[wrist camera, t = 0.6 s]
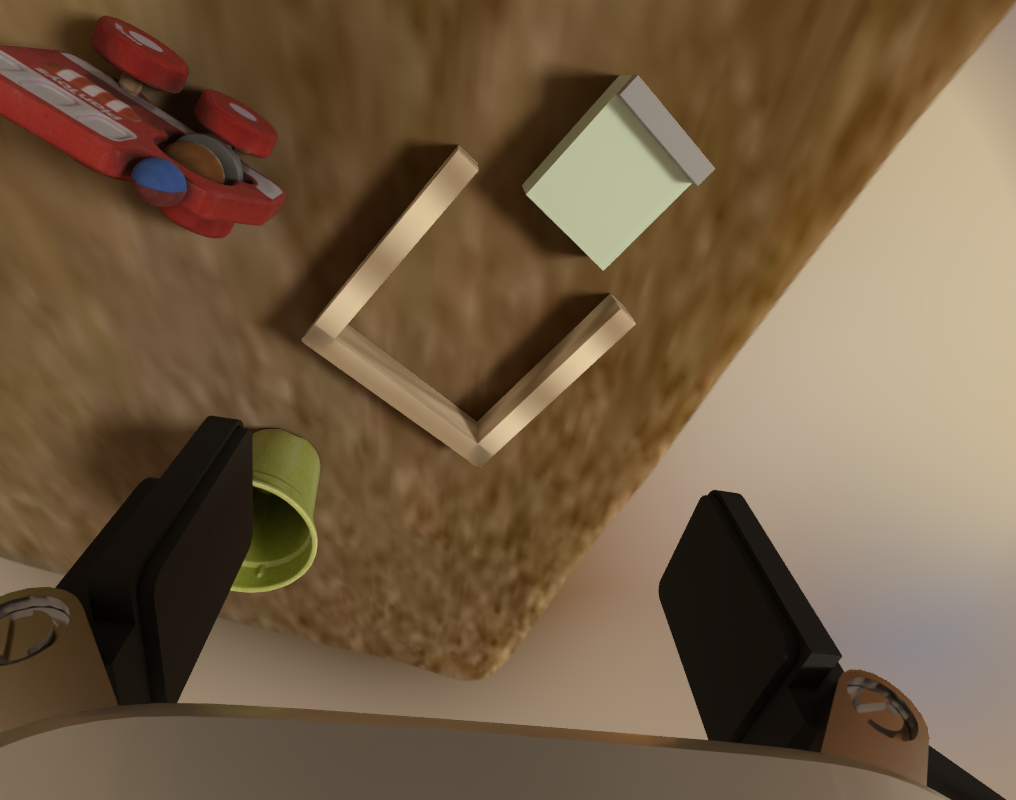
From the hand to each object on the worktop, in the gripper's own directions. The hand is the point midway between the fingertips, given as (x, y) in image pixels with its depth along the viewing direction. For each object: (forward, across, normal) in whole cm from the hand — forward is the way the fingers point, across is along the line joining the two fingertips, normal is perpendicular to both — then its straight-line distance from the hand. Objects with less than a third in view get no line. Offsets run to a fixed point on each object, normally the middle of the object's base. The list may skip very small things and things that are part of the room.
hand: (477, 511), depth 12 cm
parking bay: (+28, -1, +6) cm, 28 cm away
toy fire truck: (+28, +17, -1) cm, 33 cm away
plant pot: (+27, +11, +21) cm, 36 cm away
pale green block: (+28, -7, -4) cm, 29 cm away
